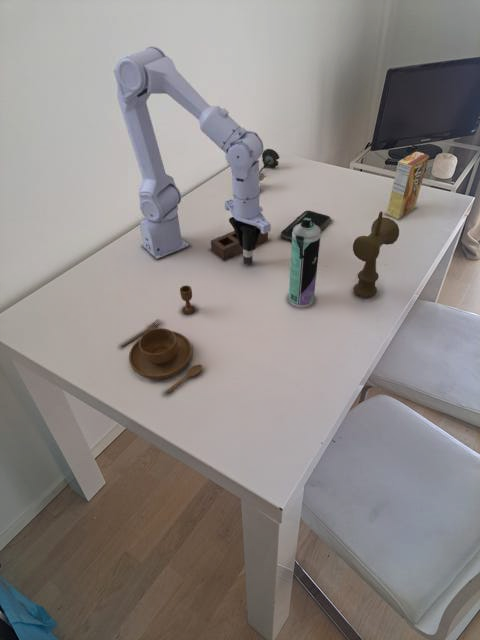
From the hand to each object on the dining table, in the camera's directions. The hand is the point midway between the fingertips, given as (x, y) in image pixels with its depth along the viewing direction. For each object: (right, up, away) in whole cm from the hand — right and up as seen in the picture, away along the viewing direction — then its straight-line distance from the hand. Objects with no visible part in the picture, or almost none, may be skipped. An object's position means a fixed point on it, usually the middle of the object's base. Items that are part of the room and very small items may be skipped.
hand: (247, 247), depth 102 cm
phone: (+16, +7, +14) cm, 23 cm away
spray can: (+12, -13, -7) cm, 19 cm away
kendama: (+26, -11, -6) cm, 29 cm away
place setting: (-14, -23, -16) cm, 31 cm away
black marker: (0, -3, +3) cm, 4 cm away
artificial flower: (+5, +27, +37) cm, 46 cm away
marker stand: (-2, +2, +10) cm, 10 cm away
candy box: (+44, +13, +20) cm, 50 cm away
